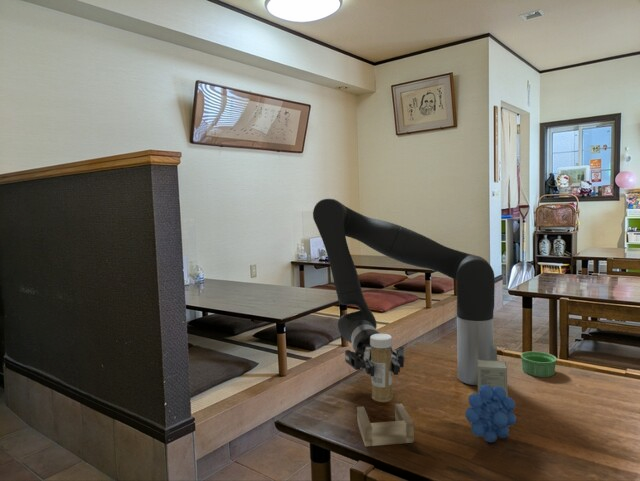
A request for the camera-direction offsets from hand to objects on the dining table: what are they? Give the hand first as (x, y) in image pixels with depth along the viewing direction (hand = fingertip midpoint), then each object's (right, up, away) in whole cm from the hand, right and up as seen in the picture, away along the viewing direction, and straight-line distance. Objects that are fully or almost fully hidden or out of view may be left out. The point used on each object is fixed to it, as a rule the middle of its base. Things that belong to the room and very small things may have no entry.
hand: (384, 371), depth 90 cm
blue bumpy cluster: (+22, -14, -2) cm, 26 cm away
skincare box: (+26, -13, +9) cm, 30 cm away
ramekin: (+48, -10, +33) cm, 59 cm away
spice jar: (0, -7, +3) cm, 8 cm away
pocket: (+1, -14, +4) cm, 15 cm away
